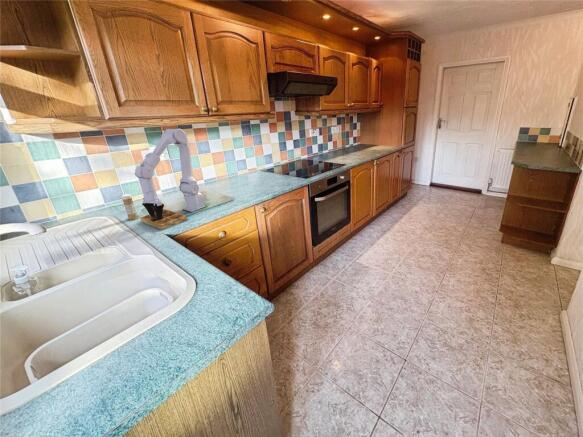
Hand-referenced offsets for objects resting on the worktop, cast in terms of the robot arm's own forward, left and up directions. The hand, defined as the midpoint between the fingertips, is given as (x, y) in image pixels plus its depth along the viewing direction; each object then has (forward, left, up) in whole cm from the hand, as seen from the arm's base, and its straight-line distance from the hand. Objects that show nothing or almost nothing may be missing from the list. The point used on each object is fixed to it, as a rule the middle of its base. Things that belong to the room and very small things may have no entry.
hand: (156, 216), depth 131 cm
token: (0, 0, -3) cm, 3 cm away
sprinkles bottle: (+4, -19, -4) cm, 20 cm away
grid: (-3, 0, -4) cm, 5 cm away
